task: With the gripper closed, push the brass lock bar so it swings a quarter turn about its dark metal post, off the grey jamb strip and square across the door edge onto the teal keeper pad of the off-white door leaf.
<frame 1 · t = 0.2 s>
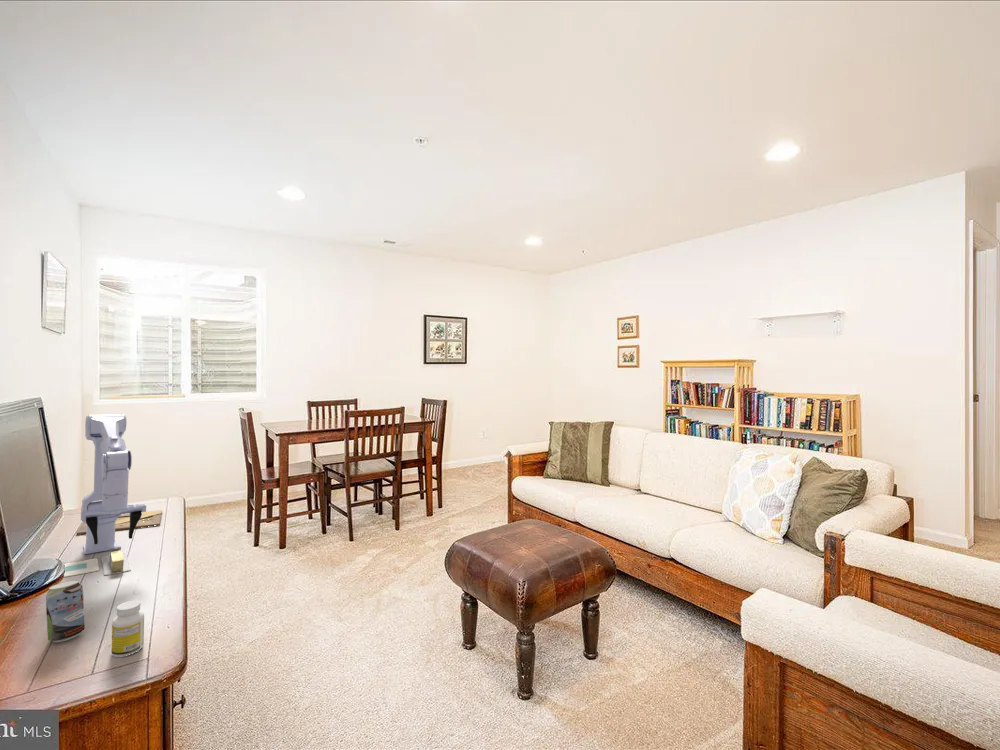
hand: (113, 540, 137), 10 cm above the table, fingers open, 7 cm apart
supplement bottle: (127, 651, 101), on the table
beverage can: (64, 638, 105), on the table
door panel: (115, 561, 146), on the table
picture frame: (122, 525, 180), on the table
lock bar: (116, 560, 141), point 2 cm above the table, hinge at 0.0°
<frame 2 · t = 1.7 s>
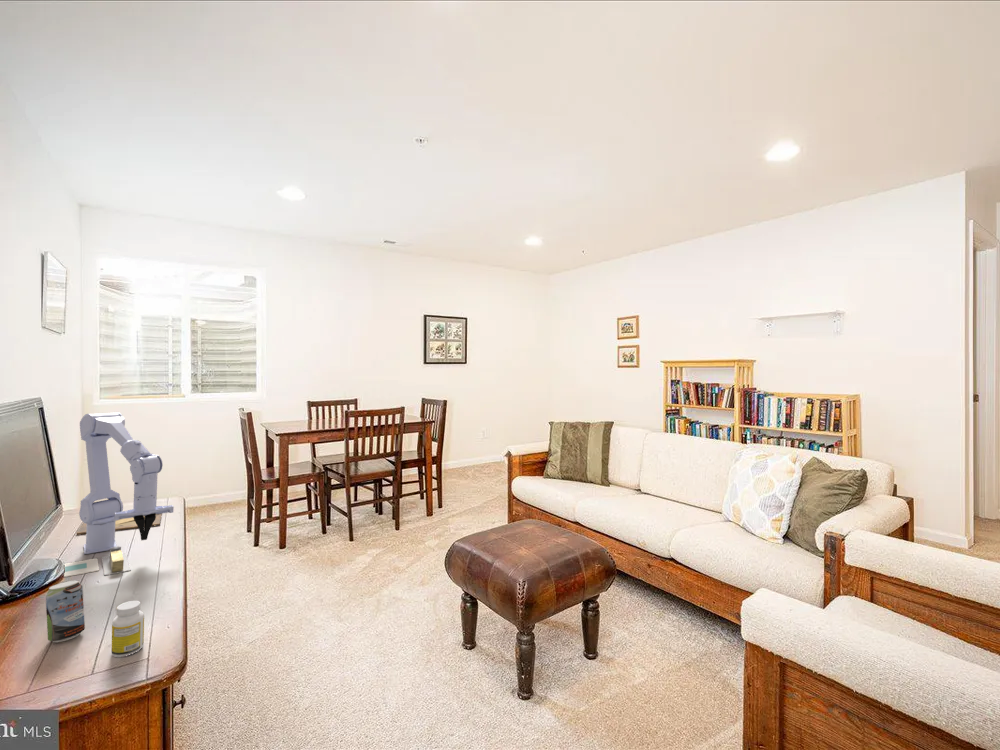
hand: (143, 539, 147), 7 cm above the table, fingers closed
nothing on the table moved.
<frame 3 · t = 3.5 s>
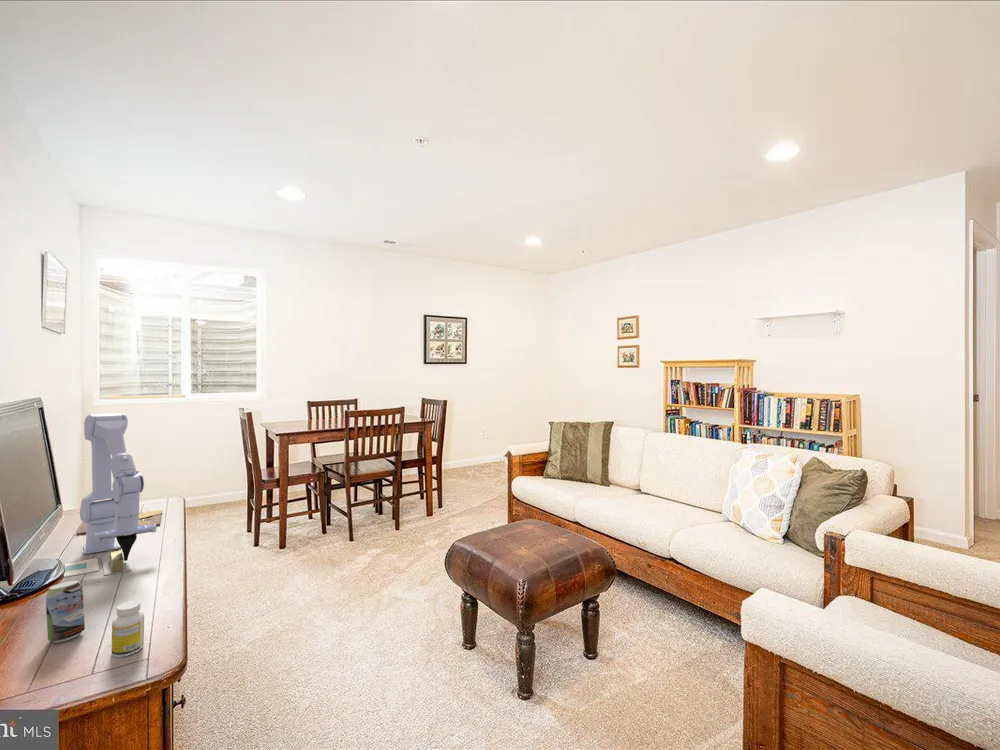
hand: (125, 559, 144), 1 cm above the table, fingers closed, pressing on lock bar
lock bar: (116, 560, 141), point 2 cm above the table, hinge at 0.0°, touching gripper
everything else where it was.
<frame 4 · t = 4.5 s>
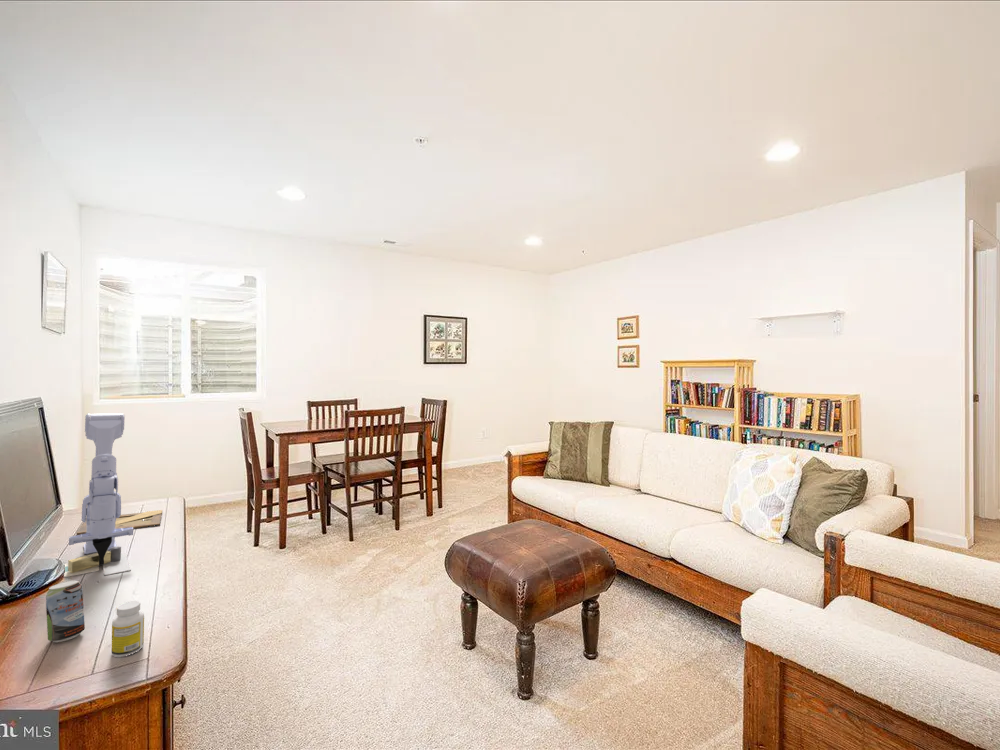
hand: (101, 563, 140), 1 cm above the table, fingers closed, pressing on lock bar
lock bar: (89, 561, 140), point 2 cm above the table, hinge at 69.3°, touching gripper
everything else where it was.
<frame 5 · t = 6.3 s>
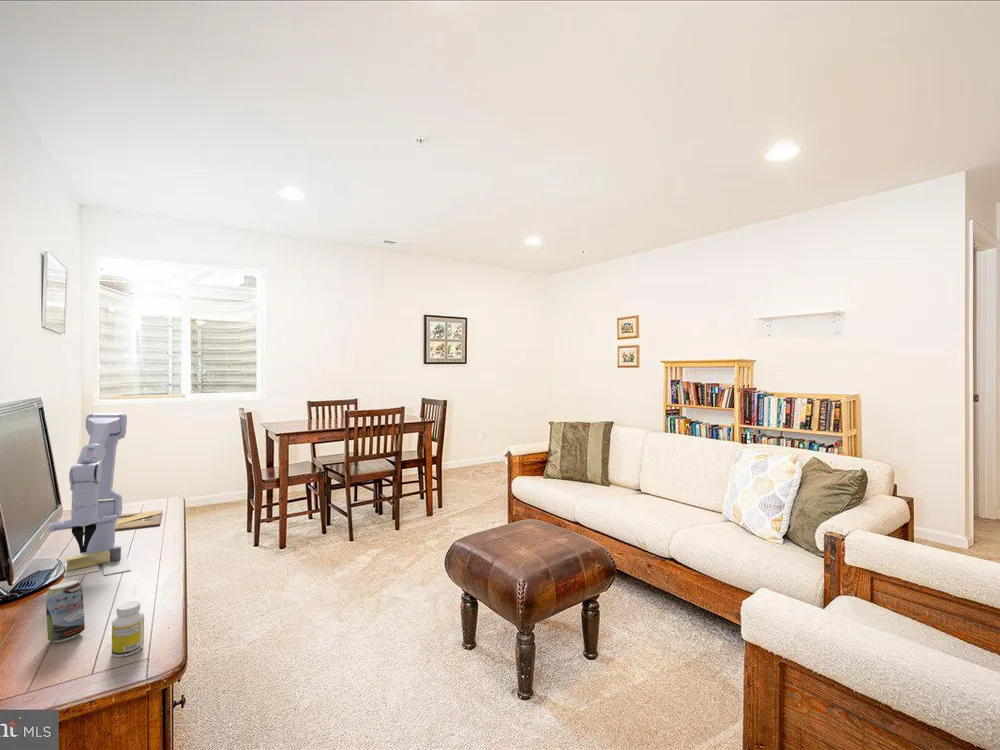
hand: (83, 551, 138), 6 cm above the table, fingers closed
lock bar: (88, 559, 141), point 2 cm above the table, hinge at 82.1°
everything else where it was.
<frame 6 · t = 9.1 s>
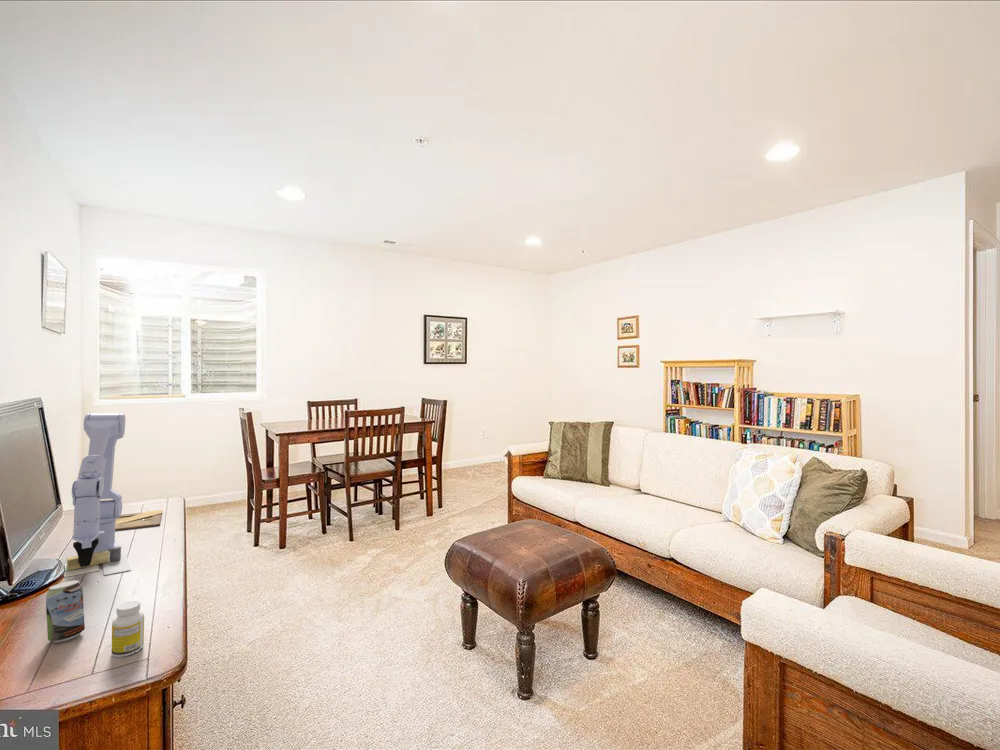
hand: (85, 565, 139), 1 cm above the table, fingers closed
lock bar: (88, 559, 141), point 2 cm above the table, hinge at 82.9°, touching gripper
everything else where it was.
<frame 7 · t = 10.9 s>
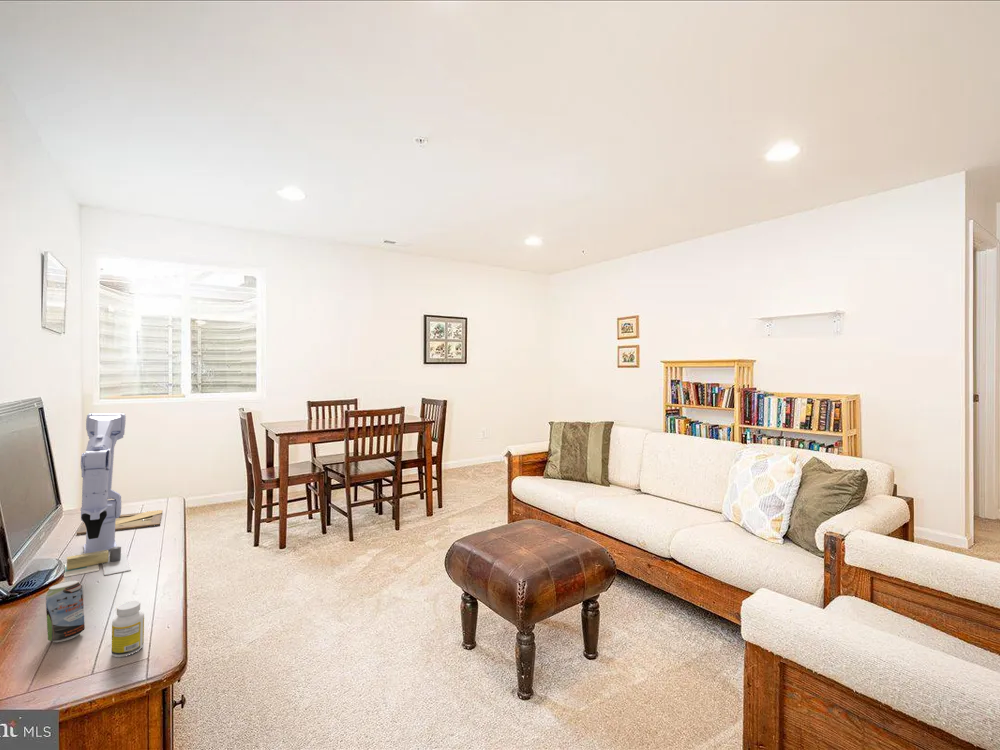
hand: (93, 538, 139), 9 cm above the table, fingers closed
lock bar: (87, 559, 141), point 2 cm above the table, hinge at 86.3°
everything else where it was.
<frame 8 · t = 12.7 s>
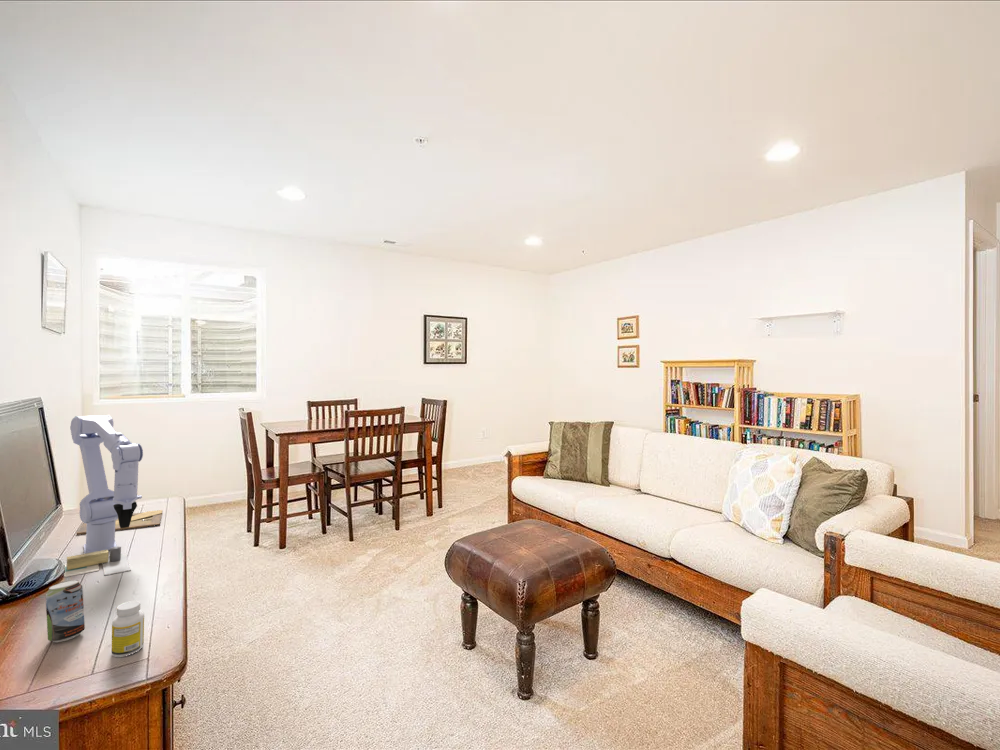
hand: (124, 527, 148), 10 cm above the table, fingers closed
nothing on the table moved.
at the end: lock bar at +86° (first picture: +0°) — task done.
